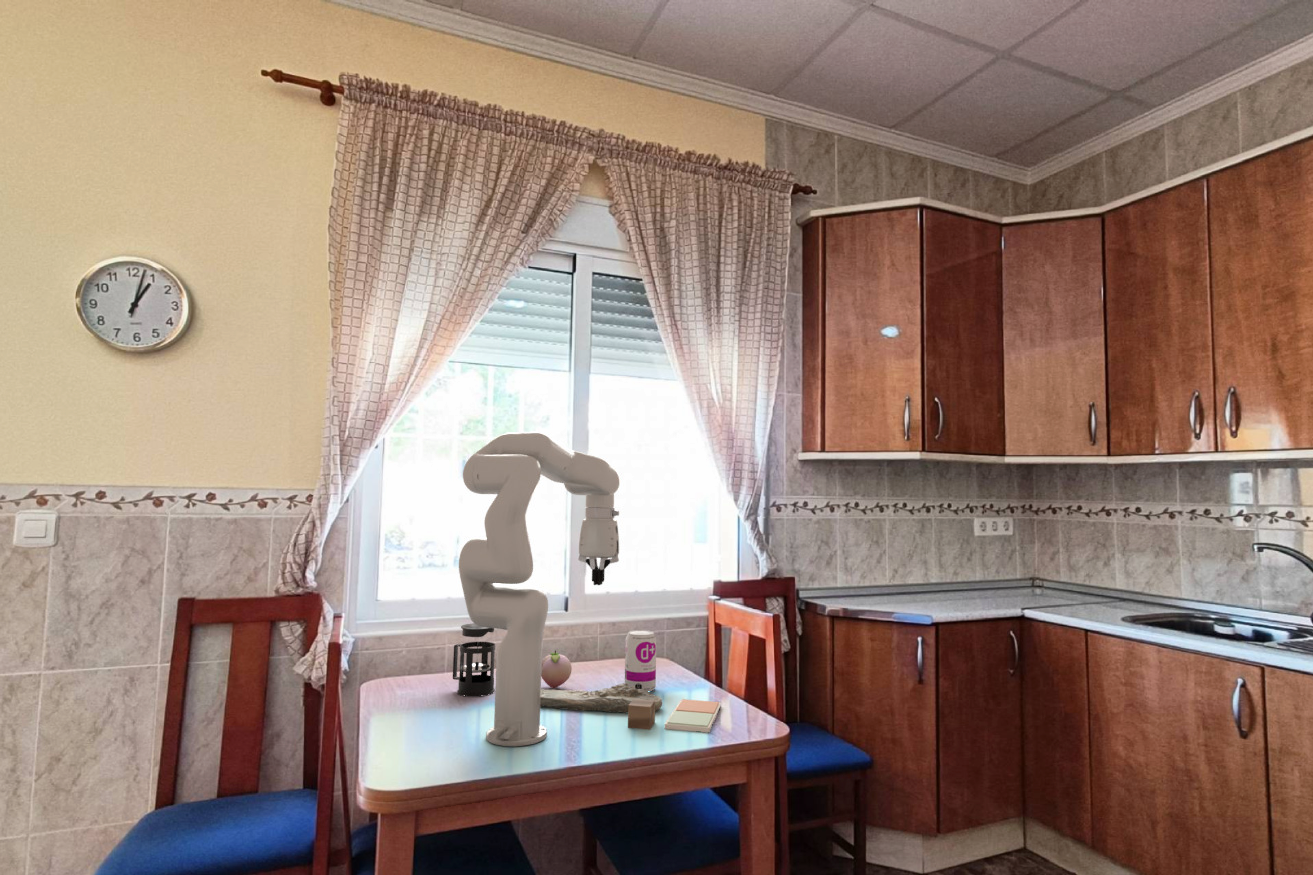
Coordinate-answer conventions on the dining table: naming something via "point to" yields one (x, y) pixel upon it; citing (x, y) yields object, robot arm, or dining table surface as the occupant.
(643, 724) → the walnut cube
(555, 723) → the dining table surface
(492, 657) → the french press
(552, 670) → the decorative fruit
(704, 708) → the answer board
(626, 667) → the supplement can
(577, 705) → the elongated rock
